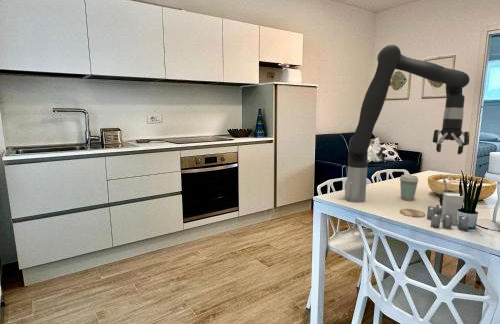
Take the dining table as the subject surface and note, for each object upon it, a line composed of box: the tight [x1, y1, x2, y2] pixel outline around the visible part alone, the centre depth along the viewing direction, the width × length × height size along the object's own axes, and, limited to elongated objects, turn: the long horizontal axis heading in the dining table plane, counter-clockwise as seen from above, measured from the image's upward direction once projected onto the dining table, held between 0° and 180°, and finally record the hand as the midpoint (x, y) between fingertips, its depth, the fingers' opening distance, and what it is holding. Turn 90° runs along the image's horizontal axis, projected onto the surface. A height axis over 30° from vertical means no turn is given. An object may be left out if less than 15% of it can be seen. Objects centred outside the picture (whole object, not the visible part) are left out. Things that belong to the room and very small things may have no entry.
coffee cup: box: [399, 174, 419, 202], centre depth 159 cm, size 8×8×12 cm
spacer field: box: [426, 204, 478, 232], centre depth 126 cm, size 20×17×5 cm
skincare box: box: [440, 193, 465, 226], centre depth 126 cm, size 6×4×12 cm
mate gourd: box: [439, 173, 458, 205], centre depth 146 cm, size 8×8×15 cm
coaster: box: [399, 208, 426, 218], centre depth 138 cm, size 10×10×1 cm
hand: (448, 153), depth 145 cm, fingers open, 8 cm apart
